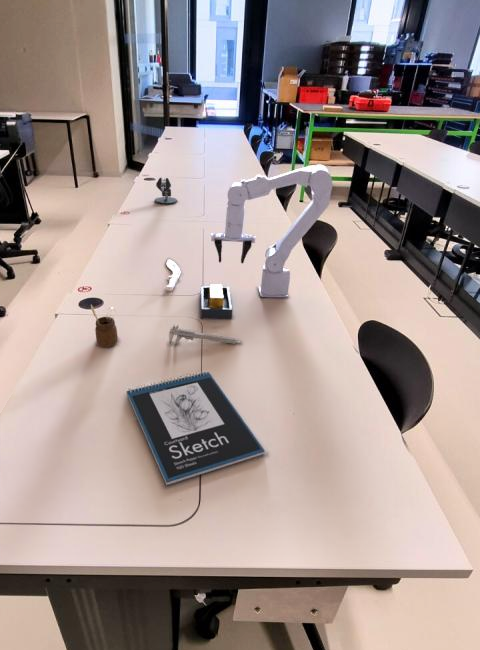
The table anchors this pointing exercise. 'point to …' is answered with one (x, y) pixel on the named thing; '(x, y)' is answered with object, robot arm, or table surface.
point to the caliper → (197, 336)
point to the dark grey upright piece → (165, 192)
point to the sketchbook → (192, 427)
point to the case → (216, 312)
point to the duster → (215, 296)
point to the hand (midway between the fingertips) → (231, 261)
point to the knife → (174, 277)
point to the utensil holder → (105, 330)
